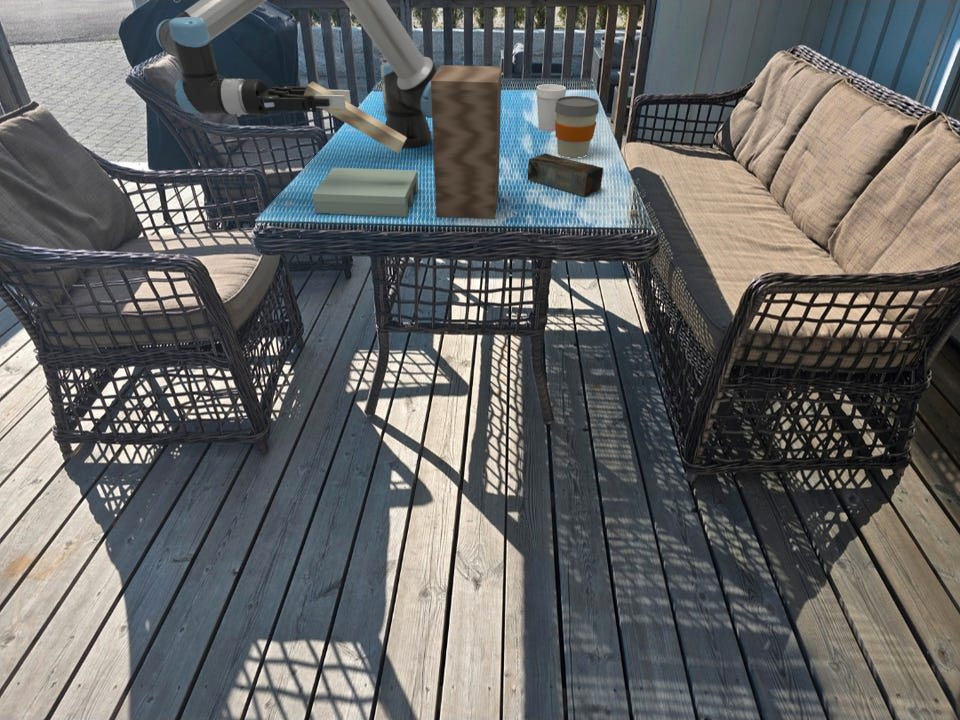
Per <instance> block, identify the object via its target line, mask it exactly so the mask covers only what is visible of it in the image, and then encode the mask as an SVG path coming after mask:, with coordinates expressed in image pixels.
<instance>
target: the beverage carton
mask: <svg viewBox="0 0 960 720" xmlns="http://www.w3.org/2000/svg"><path fill="white" fill-rule="evenodd" d="M527 161H528V162H527V163H528V168H527V181H529V180H531V181H530V182H533V181H534V182H533V183H536V182H537V183H536V184H539V183H540V184H539V185H542V184H543V186H545V185H546V187H549V188H552V189H557V190H559V191H563V192H567V193H570V194H575V195H578V196H579V197H580V196H581V197H584V198H586V197H587V196H590V195H592V194H595V193H597V192H598V190H599V191H600V190H601V188H602V182H603V181H602V180H603V174H604V167H602V166H601V167H600V166H597V165H594V164H589V163H585V162H580V161H577V160H572V159H570V158H565V157H562V156H556V155H552V154H549V153H546V152H544V153H542V154H540V155H534V156H533V157H531V158H529V159H528V160H527Z"/></svg>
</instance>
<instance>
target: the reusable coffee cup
mask: <svg viewBox="0 0 960 720" xmlns="http://www.w3.org/2000/svg"><path fill="white" fill-rule="evenodd" d="M599 103H600V102H599V100H598V99H596V98H593V97H590V96H584V95H583V96H582V95H569V96H568V95H567V96H566V95H565V97H561V98H558V99H557V102H556V107H555V112H556V120H555V131H554V132H555V137H556V142H557V143H556V144H557V145H556V146H557V155H558V154H559V155H558V156H560V155H561V156H560V157H562V156H564V157H563V158H565V157H570V158H569V159H573V158H577V159H579V158H578V157H583V156H585V155H587V156H588V154H589V149H590V145H591V141H592V139H594V134H595V130H596V126H597V121H596V120H597V116H598V114H599V111H600V107H599V106H600V105H599ZM583 158H584V157H583Z"/></svg>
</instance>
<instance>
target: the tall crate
mask: <svg viewBox="0 0 960 720" xmlns="http://www.w3.org/2000/svg"><path fill="white" fill-rule="evenodd" d="M437 69H438V71H437V72H436V74H435V75H434V77H433V78H432V80H431V98H432V118H431V120H432V145H433V169H434V190H435V191H434V193H435V217H437V218H457V219H458V218H461V219H463V218H464V219H484V220H485V219H487V220H495V219H496V213H497V207H498V206H497V205H498V200H499V192H500V190H499V189H500V187H499V186H500V184H499V183H500V181H499V180H500V154H501V153H500V151H501V150H500V149H501V147H500V145H501V116H502V115H501V110H502V109H501V108H502V107H501V106H502V105H501V103H502V77H503V76H502V75H503V73H502V71H503V69H502V66H491V65H488V66H487V65H449V64H447V65H446V64H443V65H440V66H439V67H438V68H437Z"/></svg>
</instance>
